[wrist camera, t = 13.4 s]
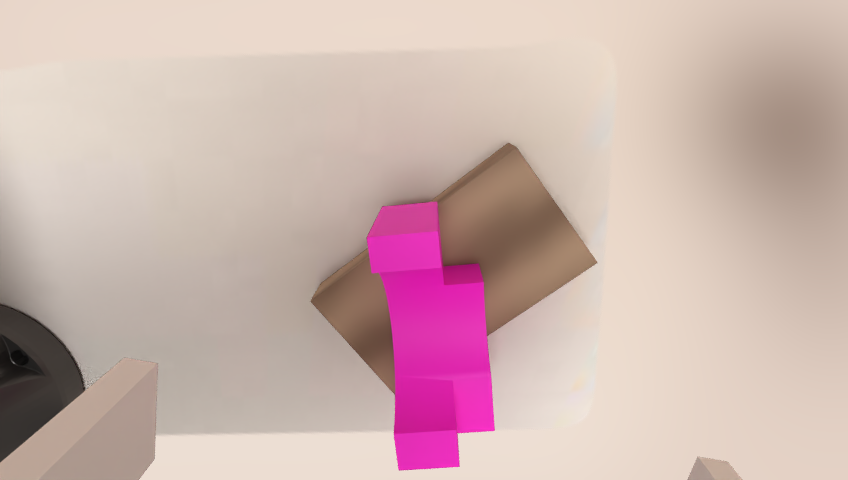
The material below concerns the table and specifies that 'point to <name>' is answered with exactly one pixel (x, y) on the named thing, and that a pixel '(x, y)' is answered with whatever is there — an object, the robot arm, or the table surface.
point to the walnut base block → (469, 256)
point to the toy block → (432, 337)
